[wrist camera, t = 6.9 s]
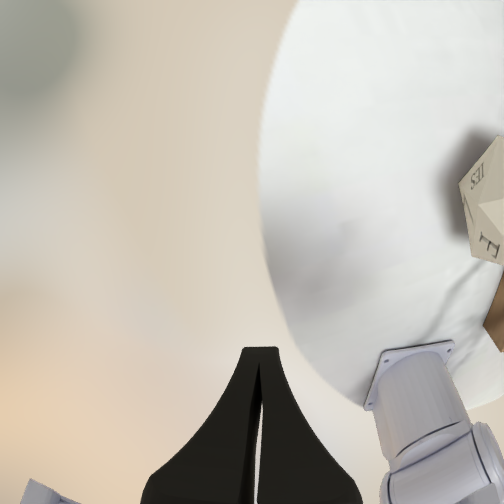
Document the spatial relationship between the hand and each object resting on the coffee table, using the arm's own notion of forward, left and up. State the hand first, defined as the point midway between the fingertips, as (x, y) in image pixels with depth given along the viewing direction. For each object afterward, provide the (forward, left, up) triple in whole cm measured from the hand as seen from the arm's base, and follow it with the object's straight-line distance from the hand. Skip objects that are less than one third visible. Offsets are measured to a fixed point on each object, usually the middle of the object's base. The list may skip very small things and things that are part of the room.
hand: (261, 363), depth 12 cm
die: (+5, -17, -10) cm, 20 cm away
